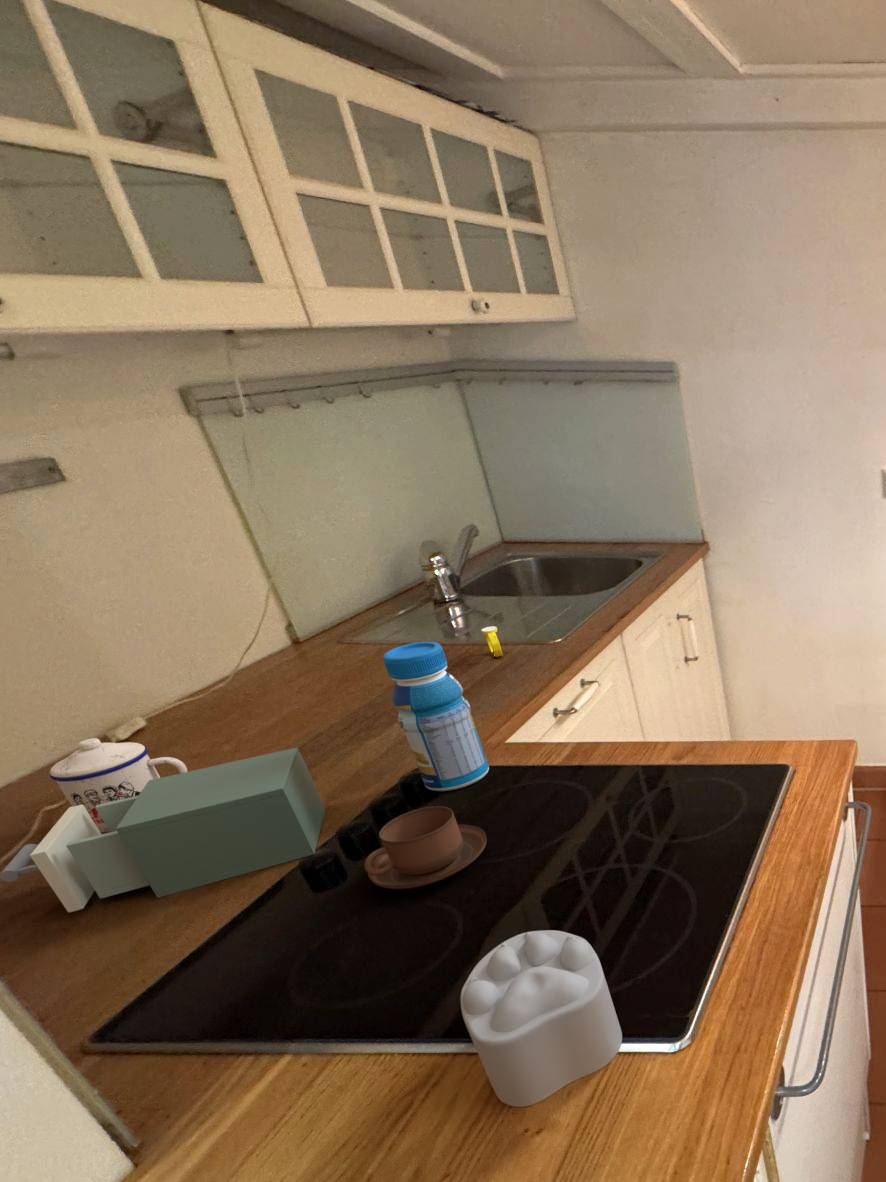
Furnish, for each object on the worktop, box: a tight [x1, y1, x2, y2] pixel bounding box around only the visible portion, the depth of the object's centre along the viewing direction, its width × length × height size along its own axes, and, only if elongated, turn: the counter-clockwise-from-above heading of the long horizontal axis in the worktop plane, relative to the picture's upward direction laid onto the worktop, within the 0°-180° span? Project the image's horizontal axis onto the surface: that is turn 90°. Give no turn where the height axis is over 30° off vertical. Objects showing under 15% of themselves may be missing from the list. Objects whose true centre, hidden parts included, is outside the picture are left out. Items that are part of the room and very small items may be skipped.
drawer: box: [0, 795, 150, 914], centre depth 90 cm, size 18×11×8 cm, turn 122°
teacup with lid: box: [49, 737, 189, 834], centre depth 103 cm, size 12×9×12 cm
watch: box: [480, 625, 503, 657], centre depth 155 cm, size 6×3×6 cm, turn 40°
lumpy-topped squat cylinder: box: [459, 929, 623, 1108], centre depth 66 cm, size 10×13×9 cm
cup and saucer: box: [364, 805, 487, 890], centre depth 90 cm, size 12×12×6 cm
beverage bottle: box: [382, 641, 490, 792], centre depth 107 cm, size 8×8×20 cm
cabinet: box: [116, 747, 327, 899], centre depth 94 cm, size 15×13×10 cm
